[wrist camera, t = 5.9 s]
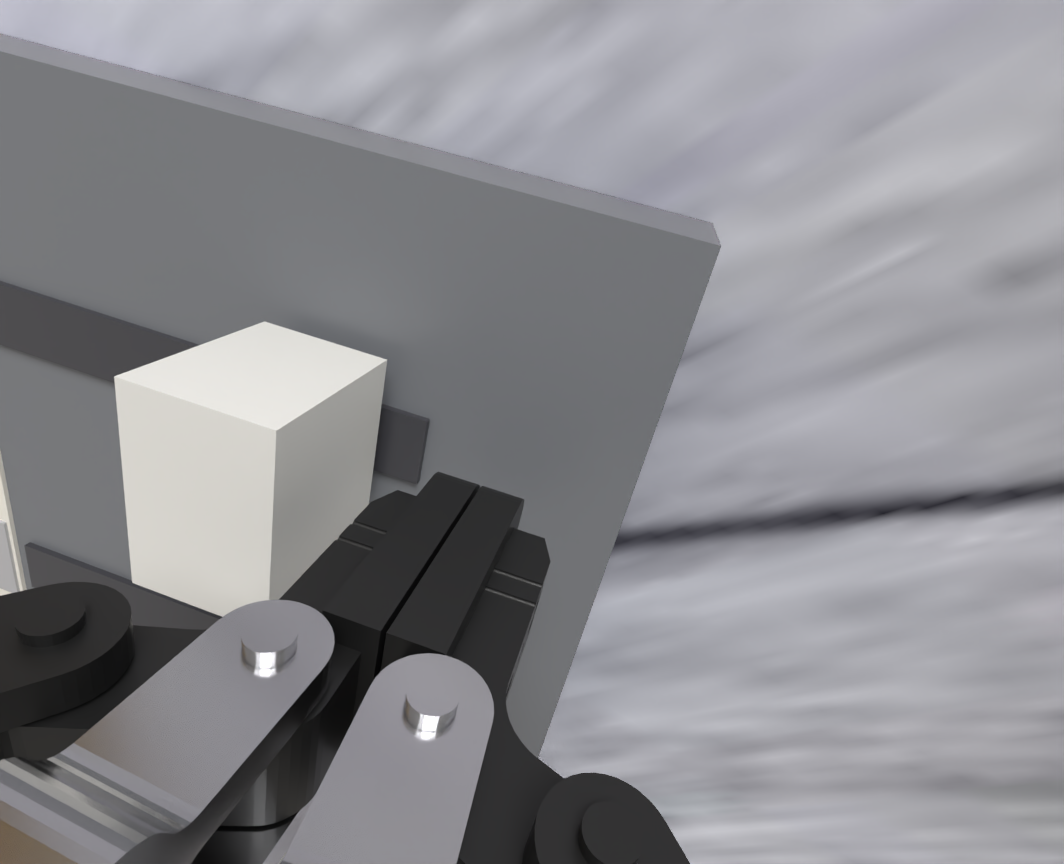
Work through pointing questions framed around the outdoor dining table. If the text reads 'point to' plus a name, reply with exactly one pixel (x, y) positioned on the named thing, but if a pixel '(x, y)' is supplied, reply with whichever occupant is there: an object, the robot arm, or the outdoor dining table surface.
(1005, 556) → the outdoor dining table surface
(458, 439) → the panel
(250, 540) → the switch tab
